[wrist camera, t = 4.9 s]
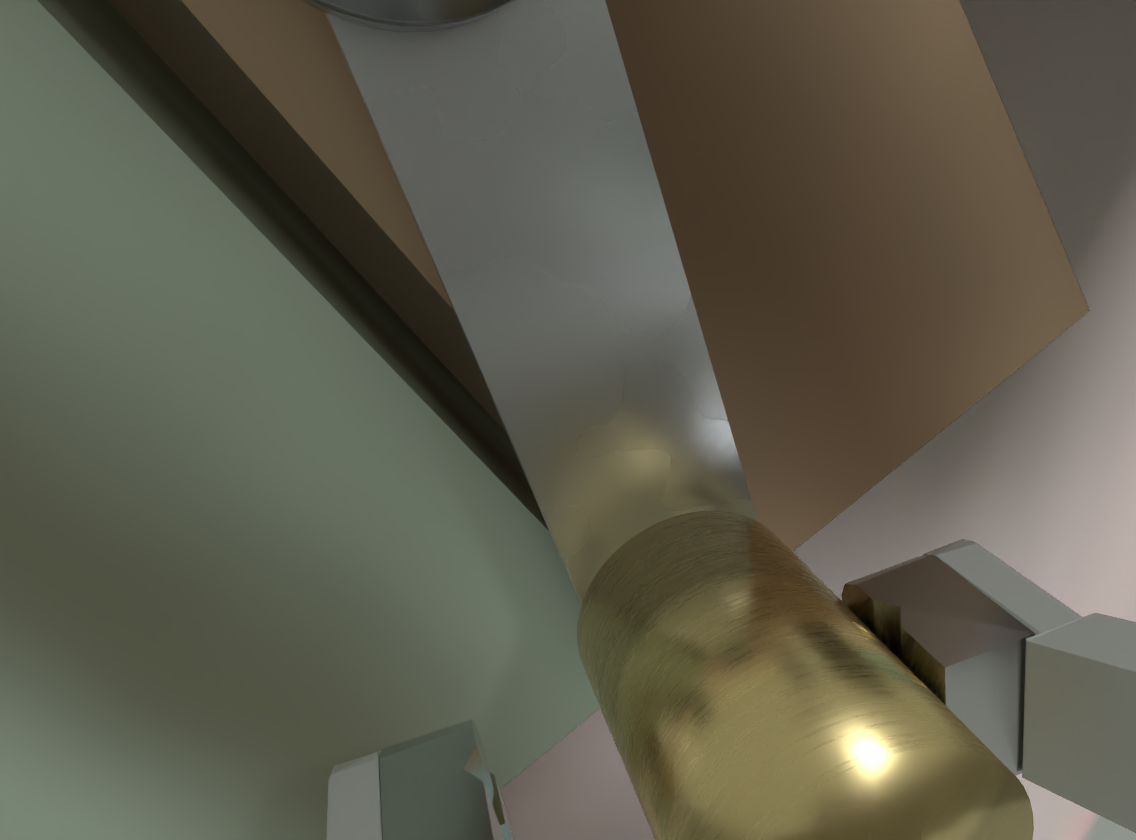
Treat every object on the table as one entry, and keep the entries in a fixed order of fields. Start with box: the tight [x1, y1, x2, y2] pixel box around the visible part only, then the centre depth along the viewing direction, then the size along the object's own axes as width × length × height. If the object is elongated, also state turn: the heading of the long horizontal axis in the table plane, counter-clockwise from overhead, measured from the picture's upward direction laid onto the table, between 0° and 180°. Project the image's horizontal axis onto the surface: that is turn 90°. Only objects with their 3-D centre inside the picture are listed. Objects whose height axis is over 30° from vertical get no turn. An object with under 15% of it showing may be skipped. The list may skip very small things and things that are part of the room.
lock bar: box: [301, 0, 1034, 840], centre depth 7 cm, size 12×4×5 cm, turn 21°
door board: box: [0, 0, 1090, 840], centre depth 11 cm, size 17×16×7 cm
